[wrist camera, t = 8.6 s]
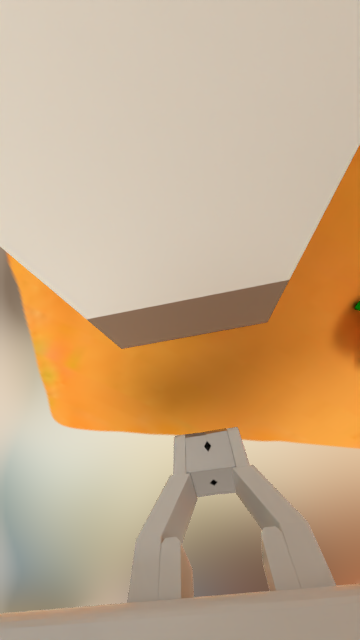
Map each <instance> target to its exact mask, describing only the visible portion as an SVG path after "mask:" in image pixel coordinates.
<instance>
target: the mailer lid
mask: <svg viewBox="0 0 360 640" xmlns="http://www.w3.org/2000/svg"><path fill="white" fill-rule="evenodd" d="M359 145H360V0H0V247H1V248H3V249H4V250H5V251H6V252H7V253H9V254H10V255H11V256H12V257H13V258H15V259H16V260H17V261H18V262H19V263H20V264H22V265H23V266H24V267H25V268H26V269H28V270H29V271H30V272H31V273H32V274H34V275H35V276H36V277H37V278H38V279H39V280H41V281H42V282H43V283H44V284H45V285H47V286H48V287H49V288H50V289H51V290H53V291H54V292H55V293H56V294H57V295H58V296H60V297H61V298H62V299H63V300H64V301H66V302H67V303H68V304H69V305H70V306H72V307H73V308H74V309H75V310H76V311H77V312H79V313H80V314H81V315H82V316H83V317H85V318H86V319H87V320H88V321H89V322H90V323H92V324H93V325H94V326H95V327H96V328H98V329H99V330H100V331H101V332H102V333H104V334H105V335H106V336H107V337H108V338H109V339H111V340H112V341H113V342H114V343H115V344H117V345H118V346H119V347H120V348H121V349H123V348H129V347H134V346H140V345H145V344H151V343H156V342H162V341H167V340H173V339H178V338H184V337H189V336H195V335H200V334H206V333H211V332H217V331H222V330H228V329H233V328H239V327H244V326H250V325H255V324H261V323H266V322H268V320H269V318H270V316H271V314H272V312H273V310H274V308H275V307H276V305H277V303H278V301H279V299H280V297H281V295H282V293H283V291H284V289H285V287H286V285H287V283H288V281H289V280H290V278H291V276H292V274H293V272H294V270H295V268H296V266H297V264H298V262H299V260H300V258H301V256H302V255H303V253H304V251H305V249H306V247H307V245H308V243H309V241H310V239H311V237H312V235H313V233H314V231H315V230H316V228H317V226H318V224H319V222H320V220H321V218H322V216H323V214H324V212H325V210H326V208H327V206H328V205H329V203H330V201H331V199H332V197H333V195H334V193H335V191H336V189H337V187H338V185H339V183H340V181H341V179H342V178H343V176H344V174H345V172H346V170H347V168H348V166H349V164H350V162H351V160H352V158H353V156H354V154H355V153H356V151H357V149H358V147H359Z"/></svg>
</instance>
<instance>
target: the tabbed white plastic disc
mask: <svg viewBox="0 0 360 640" xmlns="http://www.w3.org/2000/svg"><path fill="white" fill-rule="evenodd" d="M355 310H358V311H360V301H359V302H358V303H357V305H356V307H355Z"/></svg>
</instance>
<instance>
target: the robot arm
mask: <svg viewBox="0 0 360 640" xmlns="http://www.w3.org/2000/svg"><path fill="white" fill-rule="evenodd" d="M226 493H236V494H237V495H238V497H239V498H240V500H241V501H242V503H243V504H244V505H245V507H246V508H247V510H248V511H249V512H250V514H251V515H252V516H253V518H254V519H255V521H256V522H257V523H258V525H259V526H260V528H261V529H262V532H261V542H262V559H263V565H264V570H265V574H266V577H267V582H268V586H269V590H270V591H266V592H254V593H242V594H230V595H217V596H205V597H194V591H193V571H192V567H191V565H190V562H189V560H188V558H187V556H186V553H185V551H184V549H183V547H182V543H183V539H184V537H185V534H186V531H187V528H188V525H189V522H190V519H191V516H192V513H193V510H194V507H195V504H196V502H197V497H202V496H208V495H215V494H226ZM0 640H360V584H351V585H339V586H336V583H335V581H334V579H333V577H332V575H331V572H330V570H329V568H328V566H327V564H326V561H325V559H324V557H323V555H322V552H321V550H320V548H319V546H318V543H317V541H316V539H315V537H314V534H313V532H312V530H311V528H310V526H309V523H308V522H307V520H305V518H303V516H302V515H301V514H300V513H299V512H298V511H297V510H296V509H295V508H294V507H293V506H292V505H291V504H290V503H289V502H288V501H287V500H286V499H285V498H284V497H283V496H282V495H281V493H280V492H279V491H278V490H277V489H276V488H275V487H274V486H273V485H272V484H271V483H270V482H269V481H268V480H267V479H266V478H265V477H264V476H263V475H262V474H261V473H260V472H259V471H258V470H257V468H256V467H255V466H254V465H249V462H248V458H247V455H246V452H245V449H244V445H243V443H242V439H241V436H240V433H239V429H238V428H237V427H234V428H228V429H226V428H225V429H219V430H212V431H206V432H201V433H193V434H186V435H178V436H175V438H174V471H173V475H171V476H170V477H169V479H168V481H167V483H166V484H165V486H164V488H163V490H162V492H161V494H160V496H159V497H158V499H157V501H156V503H155V505H154V507H153V509H152V511H151V513H150V514H149V516H148V518H147V520H146V522H145V524H144V525H143V527H142V529H141V531H140V533H139V535H138V537H137V539H136V543H135V551H134V558H133V565H132V572H131V579H130V586H129V593H128V600H127V603H120V604H109V605H97V606H84V607H72V608H61V609H48V610H35V611H23V612H11V613H0Z"/></svg>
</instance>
